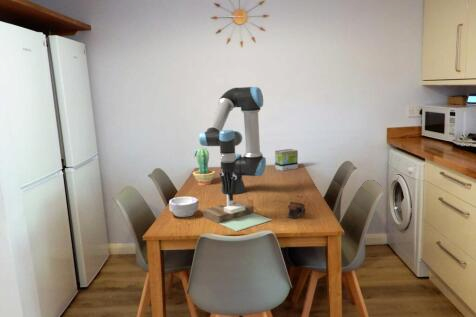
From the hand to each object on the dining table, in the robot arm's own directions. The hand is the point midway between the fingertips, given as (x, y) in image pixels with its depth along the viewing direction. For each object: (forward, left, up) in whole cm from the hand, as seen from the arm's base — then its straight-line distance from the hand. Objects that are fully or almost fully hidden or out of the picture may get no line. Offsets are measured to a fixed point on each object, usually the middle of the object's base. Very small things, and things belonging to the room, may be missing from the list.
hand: (230, 206), depth 203 cm
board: (0, -2, -5) cm, 6 cm away
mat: (0, +12, -5) cm, 13 cm away
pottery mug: (-25, +23, -6) cm, 35 cm away
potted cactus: (-28, -69, -6) cm, 74 cm away
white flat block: (0, +4, -1) cm, 4 cm away
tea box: (-100, -61, -6) cm, 117 cm away
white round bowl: (+16, -20, -6) cm, 26 cm away
